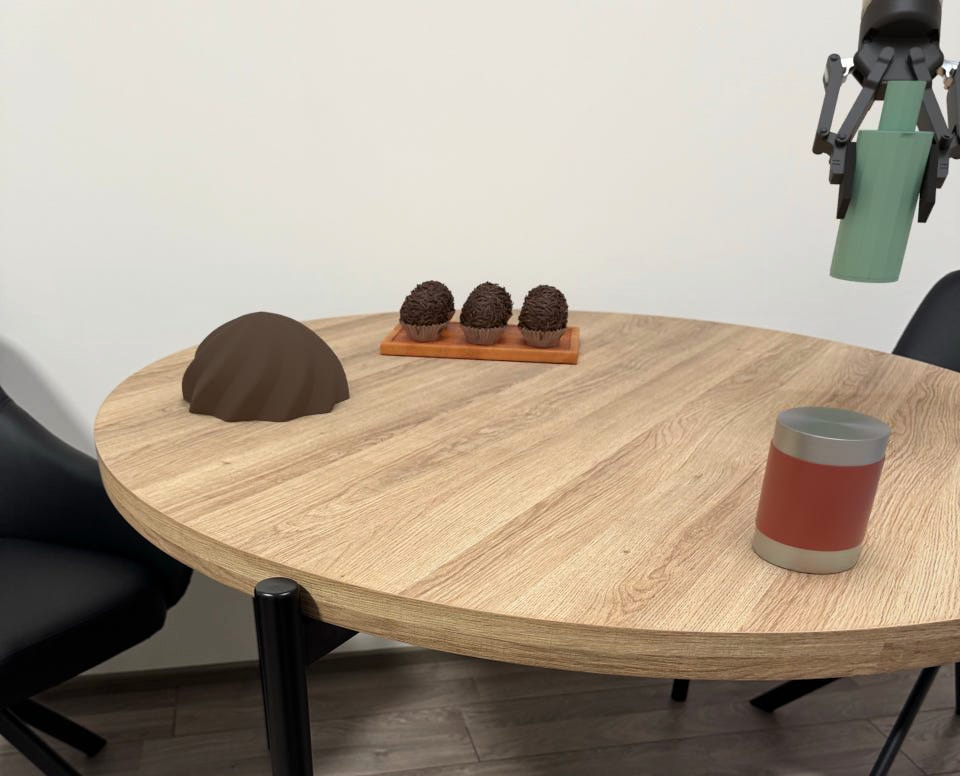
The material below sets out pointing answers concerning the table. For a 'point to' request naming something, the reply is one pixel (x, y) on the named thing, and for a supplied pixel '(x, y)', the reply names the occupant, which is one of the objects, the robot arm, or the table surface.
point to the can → (819, 488)
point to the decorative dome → (263, 371)
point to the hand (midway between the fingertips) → (884, 210)
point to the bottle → (884, 190)
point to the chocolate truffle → (484, 326)
